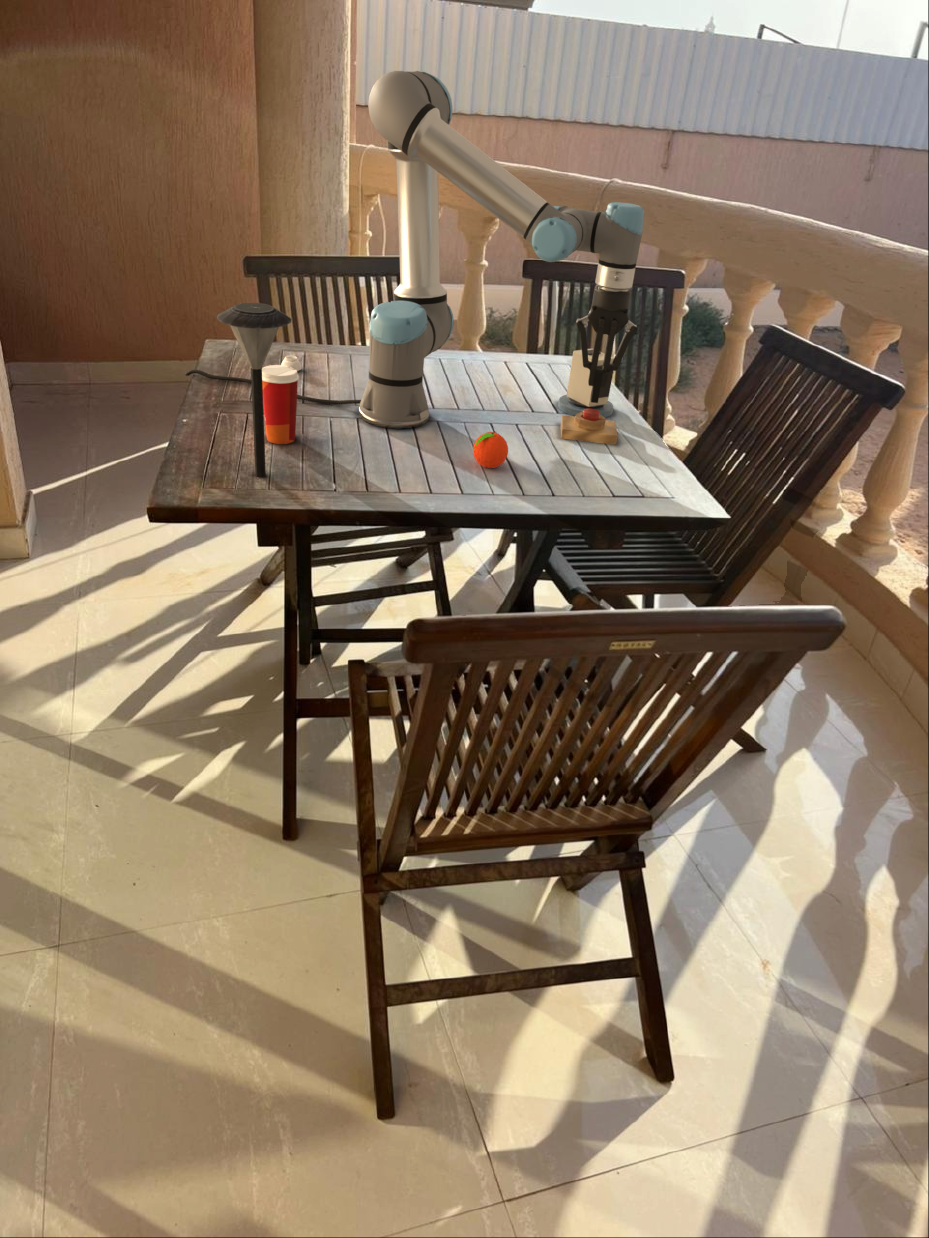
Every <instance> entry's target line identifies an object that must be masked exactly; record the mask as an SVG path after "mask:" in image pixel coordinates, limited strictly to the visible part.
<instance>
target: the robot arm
mask: <svg viewBox="0 0 929 1238" xmlns="http://www.w3.org/2000/svg"><path fill="white" fill-rule="evenodd" d="M368 96H369V97H368V105H367V106H368V114H369V118H370V121H371V123H372V125H373V127H374V129H375V131H376V132H377V133H378V134H379V135H380V136H381V137H382V138H383V139H385V140H386V141H387V150H388V152H389V153H390V154H391V155H392V157H393V158H394V159H395V166H396V169H395V170H396V192H397V193H396V194H397V197H396V198H397V217H398V218H397V221H398V222H397V223H398V226H397V227H398V249H399V252H398V253H399V277H400V279H399V280H400V281H399V284H398V285H397V287H396V288H395V290H393V300H391V301H390V302H389V301H385V302H382V303H379V304H378V305H376V306H374V308H373V309H372V311H371V312H370V313H371V314H370V321H369V325H368V330H369V345H368V347H369V350H368V380H367V383H366V385H365V389H364V391H363V394H362V397H361V399H344V400H339V399H323V398H315V397H311V396H310V397H309V396H305V395H301V394H297V400H301V401H306V402H311V403H317V404H326V405H359V407H358V415H359V417H360V419H361V420H363V421H364V422H366V423H368V424H371V425H372V426H373V425H374V426H376V427H380V428H387V429H396V430H397V429H398V430H399V429H413V428H417V427H421V426H423V425H424V424H426V423H427V422H429V417H430V409H429V404H428V400H427V397H426V393H425V389H424V384H423V383H424V382H423V381H424V365H425V358H426V357H428V356H430V355H431V354H432V353H435V352H437V351H438V350H440V349H441V348H442V347H443V346H444V345H445V344H446V343H447V341H448V340H449V339H450V337H451V335H452V333H453V330H454V324H455V323H454V322H455V321H454V320H455V319H454V313H453V311H452V308H451V306H450V305H449V304H448V292H447V289H446V288H445V287H444V286H443V285H442V284H441V271H440V270H441V267H440V266H441V265H440V263H441V262H440V202H439V201H440V198H439V197H440V195H439V194H440V193H439V192H440V191H439V190H440V189H439V175H441V176H442V177H444V178H445V179H446V180H447V181H449V182H450V183H451V184H453V185H454V186H456V187H457V188H458V189H459V190H460V191H462V192H463V193H465V194H466V195H467V196H469V197H470V198H471V199H472V200H473V201H475V202H476V203H478V204H479V205H480V206H481V207H482V208H484V209H485V210H486V211H488V212H489V213H490V214H492V215H493V216H494V217H495V218H497V219H498V220H500V221H501V222H502V223H503V224H505V225H506V226H507V227H509V228H510V229H511V230H512V231H514V233H516V234H517V235H519V236H520V237H522V238H523V239H524V240H525V241H527V243H529V244H530V245H531V247H532V249H533V251H534V253H535V255H536V256H537V257H538V258H539V259H540V260H542V261H544V262H547V263H555V262H556V263H557V262H560V261H563V260H565V259H567V258H568V257H570V255H572V253H574V252H576V251H577V252H583V253H584V252H585V253H591V254H599V257H598V263H597V268H596V269H597V270H596V275H595V281H594V282H595V285H596V286H595V287H594V288H593V294H592V300H591V306H590V309H589V310H588V312H587V314H586V315H585V316H584V317H581V318H580V317H578V318H577V319H576V326H577V329H578V330H579V333H580V335H579V336H580V347H581V350H582V360H583V367H585V368H588V369H589V370H590V373H589V379H588V384H589V386H592V392H591V398H590V399H591V402H593V403H598V399H599V393H600V387H605V386H606V382H607V377H608V373H609V372H610V371H613V372H616V371H618V370H619V367H620V365H621V362H622V361H623V358H624V355H625V353H626V351H627V349H628V346H629V344H630V343H631V342H630V341H631V339H632V338H633V337H634V336H635V335H636V333H637V332H638V330H639V329H638V325H637V324H636V323H633V322H632V321H631V320H630V316H629V308H630V302H631V296H632V292H631V290H630V289H631V288H633V284H634V280H635V273H636V268H637V263H638V262H637V261H638V258H639V252H640V246H641V243H642V242H641V241H642V238H643V233H644V230H643V228H644V221H645V210H644V207H642V206H641V205H638V204H634V203H630V202H619V201H614V202H609V203H608V204H607V206H606V210H605V211H595V210H594V211H593V210H588V209H580V208H574V207H568V206H567V205H566V206H565V205H562V206H558V205H551V204H550V203H549V202H548V201H547V200H546V199H544V198H543V197H542V196H541V195H539V194H538V193H536V191H534V190H533V189H531V187H529V186H528V185H526V184H525V183H524V182H522V181H521V180H520V179H519V178H518V177H516V176H515V175H513V174H512V173H511V172H510V171H509V170H507V169H506V168H505V167H503V166H502V165H501V164H500V163H498V161H496V160H494V159H493V158H492V157H490V156H489V155H488V154H486V153H485V152H484V151H482V150H481V149H480V148H479V147H478V146H477V145H475V144H474V143H473V142H472V141H470V140H468V138H466V137H465V136H464V135H462V134H461V133H460V132H458V131H457V130H456V129H455V128H453V127H452V126H451V125H450V124H451V121H452V117H453V101H452V97H451V94H450V92H449V90H448V88H447V87H446V85H445V84H444V83H443V81H442V80H440V79H439V77H437V76H435V75H433V74H431V73H428V72H426V71H421V70H416V71H415V70H414V71H408V70H407V71H405V70H393V71H389V72H386V73H384V74H383V75H382V76H381V77H379V78H378V79H377V80H376V81H375V83H374V84H373V86H372V88H371V90H370V93H369V95H368ZM589 323H590V325H591V327H592V329H593V331H594V332H595V336H594V343H593V348H592V349H593V354H592V360H591V362H590V361H588V349H589V348H588V339H587V328H588V327H589ZM624 327H625V328H624ZM623 328H624V331H625V332H624V334H623V336H622V339H621V341H620V342H619V343H620V344H619V346H618V347H617V351H616V353H615V355H614V356H613V357H614V360H613V362H612V363H611V364H610V361H611V357H612V354H613V349H614V343H615V338H616V335H617V334H619V333H620V332H621V331H622V329H623ZM603 335H604V336H605V335H607V339H606V344H605V350H604V354H605V356H604V362H603V369H597V364H598V358H599V352H601V346H602V341H603V337H604V336H603ZM192 374H198V375H200V376H202V377H205V378H208V379H210V380H216V381H217V380H218V381H226V382H239V383H246V384H251V385H252V383H251V378H244V377H235V376H225V375H216V374H211V373H207V372H205V371H203V370H200V369H196V368H195V369H189V370H187V371H186V372H185V373H184V376H186V377H189V376H191V375H192Z"/></svg>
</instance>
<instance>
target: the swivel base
mask: <svg viewBox="0 0 929 1238" xmlns="http://www.w3.org/2000/svg"><path fill="white" fill-rule="evenodd" d="M557 407H558V408H559V410H560V411H561V412H564V413H565V414H568V415H569V416H575V417H576V414H577V413H579V412H583V410H584V409H587V408H588V407H582V406H578V405H575V404H573V403H571V402H570V401H569V397H567V394H564V395H562V396H560V397H559V398H558V403H557ZM591 409H596V410H598V411H599V412H600V415H602V416H603V417H605V418H609V417H610V416H612V415H613V411H614V404H613V403H612V402H611V401H610V400H608V403H607V404H604V405H603V406H602V407H597V408H591Z"/></svg>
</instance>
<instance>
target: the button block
mask: <svg viewBox="0 0 929 1238" xmlns="http://www.w3.org/2000/svg"><path fill="white" fill-rule="evenodd" d="M582 416H583V412H579V413H577V414H576V416H573V415H564V414H562V415H561V420H560V438H561V439H564V440H570V441H571V440H572V441H581V442H587V443H590V442H591V443H597V444H607V445H614V446H616V445H617V440H618V437H619V435H618V430H617V424H616V421H615V420H608V419H606V417H603V416H602V415H599V420H596V421H591V420H586V419H584V418H582Z"/></svg>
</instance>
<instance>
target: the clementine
mask: <svg viewBox="0 0 929 1238" xmlns="http://www.w3.org/2000/svg"><path fill="white" fill-rule="evenodd" d="M472 453H473V457H474V460H476V462H477V463H478V464H479V465H480V466H482V467H484V468H488V469H495V468H498V467H500V466H501V465H502V464H503V463H504V462H505V461H506V459H507V457H508V454H509V446H508V442H507V441H506V439H505V437H503V436H502V435H501V434H499V433H498V432H493V431H487V432H484V433H483V434H482V433H481V434H480V435H479V436H478V437H477V438H476V440H475V441H474V443H473V447H472Z"/></svg>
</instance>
